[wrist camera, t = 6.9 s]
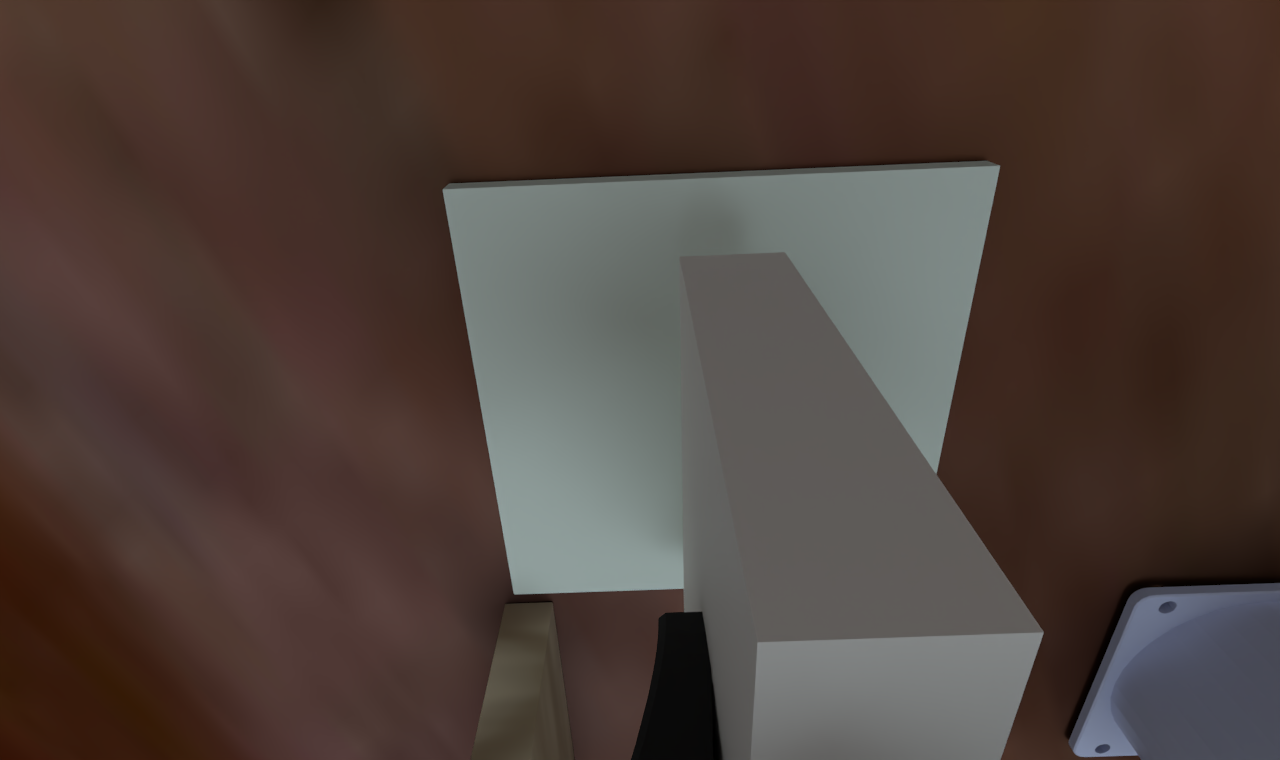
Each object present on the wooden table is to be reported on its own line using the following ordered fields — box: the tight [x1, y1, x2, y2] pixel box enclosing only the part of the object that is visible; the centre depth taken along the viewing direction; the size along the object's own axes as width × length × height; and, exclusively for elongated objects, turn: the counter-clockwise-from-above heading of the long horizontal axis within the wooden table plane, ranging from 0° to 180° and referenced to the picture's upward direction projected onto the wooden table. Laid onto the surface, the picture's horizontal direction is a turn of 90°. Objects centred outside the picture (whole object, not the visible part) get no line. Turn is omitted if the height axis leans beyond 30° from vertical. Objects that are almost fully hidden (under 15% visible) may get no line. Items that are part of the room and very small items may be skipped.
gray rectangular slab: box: [679, 252, 1044, 760], centre depth 11 cm, size 2×10×9 cm, turn 2°
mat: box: [443, 161, 1000, 594], centre depth 17 cm, size 12×12×1 cm
